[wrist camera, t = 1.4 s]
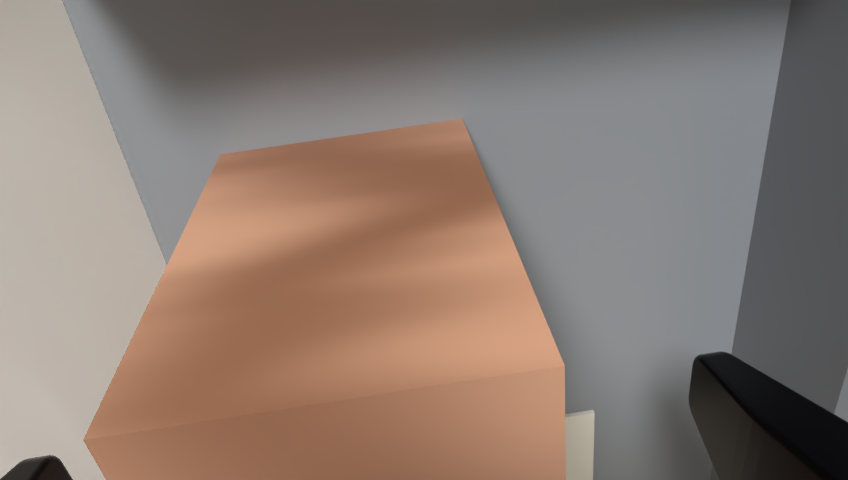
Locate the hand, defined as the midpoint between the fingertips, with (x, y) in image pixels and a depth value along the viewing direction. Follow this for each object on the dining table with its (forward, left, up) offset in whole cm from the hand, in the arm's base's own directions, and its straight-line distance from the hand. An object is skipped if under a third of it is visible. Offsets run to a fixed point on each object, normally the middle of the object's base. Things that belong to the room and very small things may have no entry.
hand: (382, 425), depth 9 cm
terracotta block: (0, 0, -4) cm, 4 cm away
